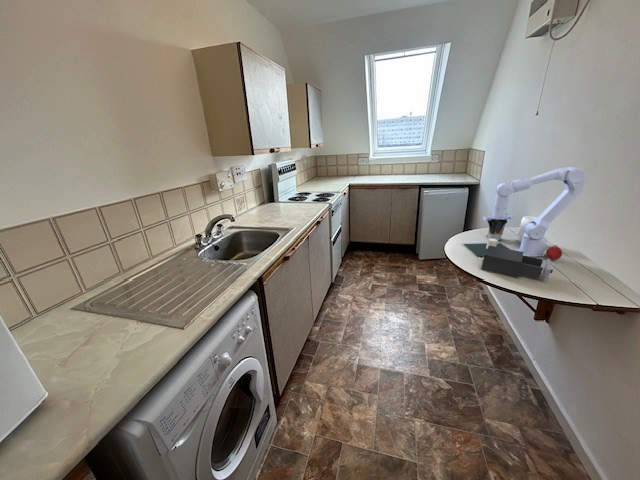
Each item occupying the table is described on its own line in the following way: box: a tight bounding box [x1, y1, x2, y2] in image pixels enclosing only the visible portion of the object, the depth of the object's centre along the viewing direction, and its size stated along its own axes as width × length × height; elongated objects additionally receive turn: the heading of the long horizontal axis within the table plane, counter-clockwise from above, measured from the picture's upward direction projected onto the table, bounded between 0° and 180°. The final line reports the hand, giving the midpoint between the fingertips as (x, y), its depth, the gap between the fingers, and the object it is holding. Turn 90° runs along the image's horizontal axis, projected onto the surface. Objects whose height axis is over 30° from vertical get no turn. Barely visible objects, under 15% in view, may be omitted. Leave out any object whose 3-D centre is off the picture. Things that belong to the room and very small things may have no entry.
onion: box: [545, 244, 563, 262], centre depth 126 cm, size 6×6×8 cm
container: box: [486, 238, 499, 249], centre depth 141 cm, size 4×4×5 cm
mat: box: [463, 242, 510, 258], centre depth 141 cm, size 20×16×1 cm
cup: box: [516, 215, 538, 243], centre depth 145 cm, size 8×8×14 cm
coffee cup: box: [487, 213, 508, 241], centre depth 152 cm, size 8×8×15 cm
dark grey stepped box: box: [481, 246, 523, 279], centre depth 121 cm, size 14×13×8 cm
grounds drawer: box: [518, 255, 554, 283], centre depth 115 cm, size 14×11×6 cm
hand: (494, 232), depth 138 cm, fingers closed
